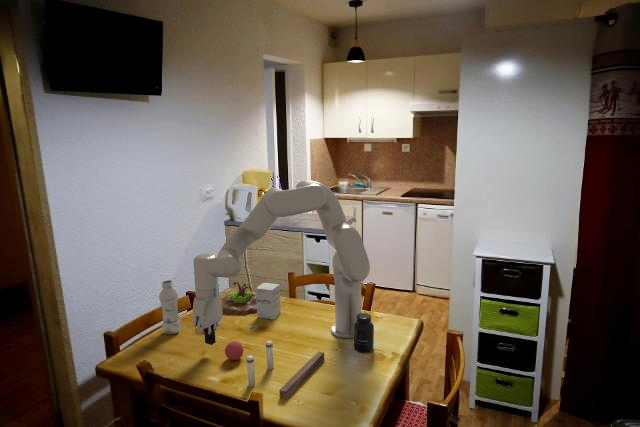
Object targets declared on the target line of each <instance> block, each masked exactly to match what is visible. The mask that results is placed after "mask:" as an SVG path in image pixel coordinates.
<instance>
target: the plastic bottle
mask: <svg viewBox="0 0 640 427" xmlns="http://www.w3.org/2000/svg"><path fill="white" fill-rule="evenodd" d="M161 288H162V289H161V291H160V293H159V297H158V298H159V302H160V305H161V306H160V307H161V311H162V324H161V325H162V326H161V328H162V332H163V333H164V334H165V335H174V334H177V333H179V332H180V331H181V328H182V324H181V320H180V316H179V312H178V298H179V296H178V292H177V291H176V289H175V288H174V282H173V280H171V279H170V280H169V279H167V280H164V281H162V282H161Z"/></svg>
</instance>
